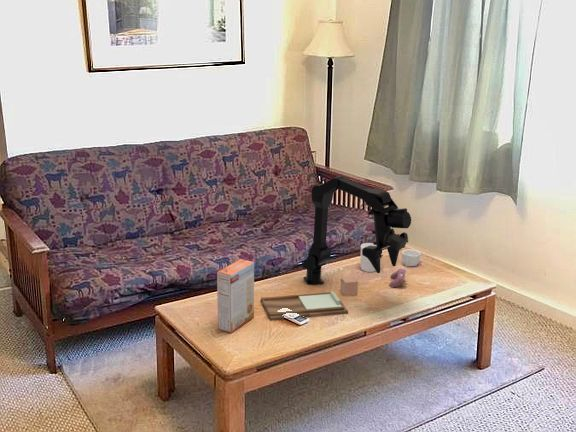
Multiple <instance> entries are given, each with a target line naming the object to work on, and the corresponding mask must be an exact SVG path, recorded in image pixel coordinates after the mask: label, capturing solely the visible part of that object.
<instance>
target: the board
mask: <svg viewBox="0 0 576 432" xmlns="http://www.w3.org/2000/svg"><path fill="white" fill-rule="evenodd" d="M330 292H331V291H330ZM330 292H316V293H305V294H293V295H292V294H291V295H281V296H280V295H279V296H268V297H267V296H266V297H261V298H260V302H261V304H262V306H263V308H264V310H265V312H266V315H267V316H268V318H269V321H280V320H281V319H282V320H285V319H284V316H282V315H283V314H286V313H297V314H299V315H301V316H304V317H305V318H314V317H315V318H316V317H326V316H336V315H337V316H339V315H348V314H349V311H348V309H347V308H346V306H345V305H344V303H343V302H342V301H341V300H340V304H341V306H342V307H334V308H322V309H310V310H306V309H305V308H304V306H303V305H302V303H301V301H300V300H299V296H310V295H322V294H330ZM282 308H288V309H290V310H292V311H286V312H277V311H278V310H280V309H282Z"/></svg>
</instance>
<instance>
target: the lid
mask: <svg viewBox="0 0 576 432" xmlns="http://www.w3.org/2000/svg"><path fill="white" fill-rule="evenodd" d="M299 300H300V301H301V303H302V305H303V306H304V308H305V309H306V310H310V309H322V308H334V307H342V306H341V304H340V301H341V299H340V298H339V297H338V295H337V294H336V293H335V291H330V294H322V295H310V296H299Z"/></svg>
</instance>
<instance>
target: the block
mask: <svg viewBox="0 0 576 432" xmlns="http://www.w3.org/2000/svg"><path fill="white" fill-rule="evenodd" d="M358 283H359V282H358V280H357V279H356V278H355V277H354V276H344V277H343V276H342V277H340V285H339V286H340V290H339V291H340V293H341V294H342V295H343V297H348V296H350V297H351V296H358V287H359V285H358Z"/></svg>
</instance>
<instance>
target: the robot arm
mask: <svg viewBox="0 0 576 432" xmlns="http://www.w3.org/2000/svg"><path fill="white" fill-rule="evenodd" d="M338 190H339V191H341V192H345V193H347V194H349V195H351V196H353V197H356V198H358V199H359V200H362V201H363V202H364V203H365V204H366V205H367V206H368V207H370V208H371V209H370V210H369V211H368V212H367V215H369V216H370V215H371V216H373V217H372V218H373V225H374V229H373V230H372V231H371V233H372V234H374V235H375V236H374V238H375V241H373V244H374V245H377V246H367V247H365V248H363V249H362V255H363V256H365V257H367V258H368V259H369V261H370V262H371V264H372V265H373V267H374V269H375V270H376V271H375V272H376V274H380V273H381V259H382V257H383V256H384V255H383V254H382V253H383V250H387V252H388V257H389V258H390V259H389V260H390V263H391V265H392V267H396V266H397V261H398V257H399V253H400V251H401V250H402V249H404V248H406V245H407V243H409V237H408V233H407V232H406V231H405V232H402V233H398V234H396V233H395V228H396V229H408V228H410V226H411V223H412V216H411V214H410V213H409V212H408V208H399V207H398V206H397V204H396V202H395V201H394V200H393V198H392V197H391V195H390V192H389V191H387V190H385V189H384V190H383V189H379V188H371V187H367V186H365V185H362V184H360V183H357V182H355V181H352V180H351V179H348V178H346V177H344V176H342V175H339V176H335V177H332V178H331V179H329V180H327V181H325V182H323V183H320V184H316V185H314V186H313V187H312V188H311V193H310V194H311V201H312V204H313V205H314V219H313V220H314V222H313V223H314V224H313V238H312V241H313V242H312V244H311V246H310V247H309V250H308V253H307V257H306V258H305V259H304V260H303V261H302V262H301V265H302V269H305V270H306V276H304V277H303V280H304V281H305V283H306V284H307V285H317V284H321V285H322V284H324V283H325V282H324V280H323V279H322V267H323V266H325V265H326V264H327V262H328V261H329V260H330V258H332V253H331V252H332V247H331V246H329V245H328V243H327V236H328V235H327V232H328V231H327V230H328V217H329V216H328V215H329V207H330V204H332V201H333V198H334V194H335V192H336V191H338Z"/></svg>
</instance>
